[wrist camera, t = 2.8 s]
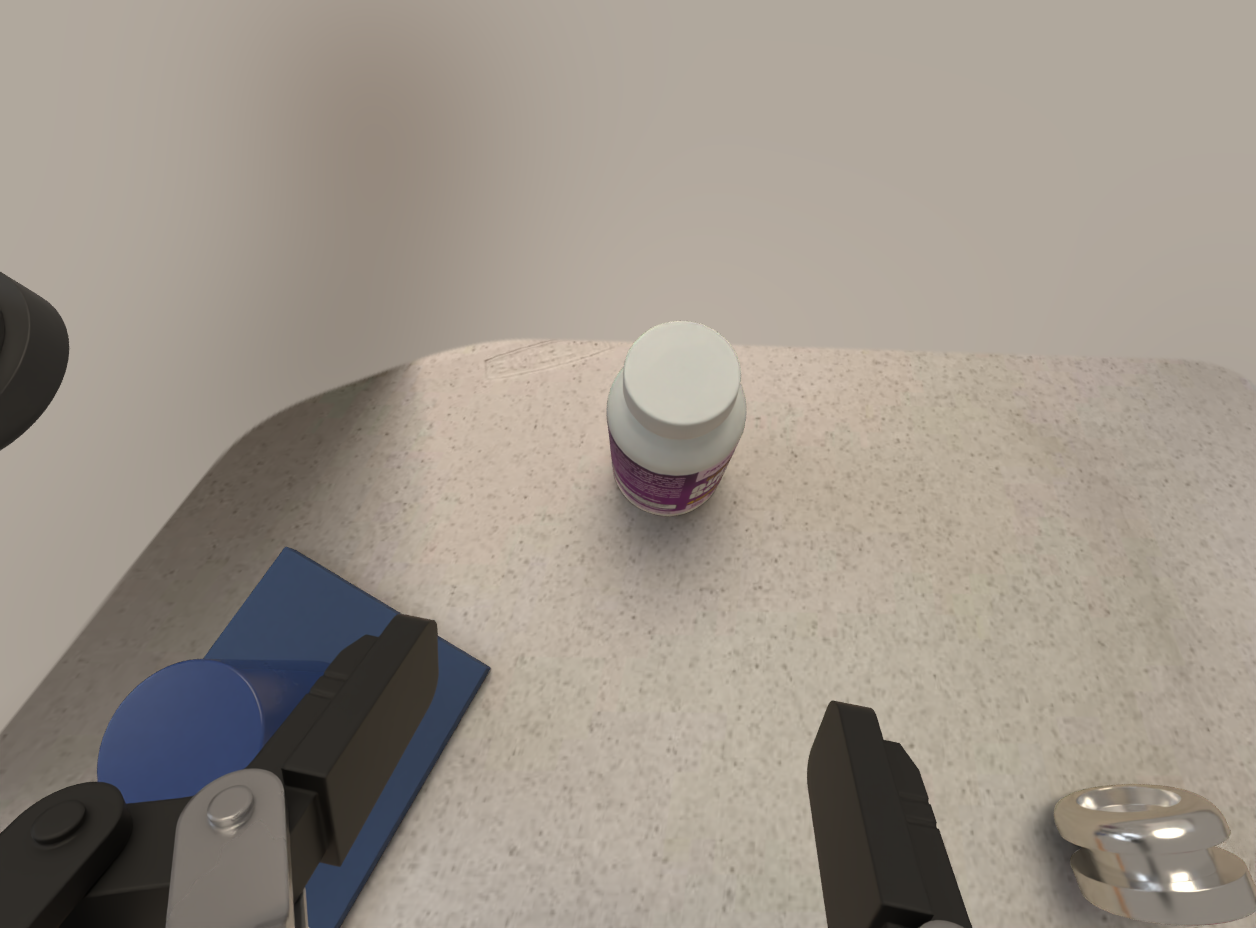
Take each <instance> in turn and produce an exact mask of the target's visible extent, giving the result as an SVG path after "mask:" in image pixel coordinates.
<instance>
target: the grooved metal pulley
mask: <svg viewBox="0 0 1256 928" xmlns="http://www.w3.org/2000/svg"><path fill="white" fill-rule="evenodd" d="M1054 820H1055V824H1056V826H1057V829H1058V832H1059V834H1060V835H1061V836H1062V837H1063V838H1064V839H1065V840H1067V841H1069V842H1071V843H1073V844H1075V845H1078V846H1081V847H1083V848H1081V849H1079V850H1077V851H1076V852H1075V853H1074V854H1073V855H1072V856H1071V858H1070V864H1071V867H1072V870H1073V872H1074V875H1075V878H1076V880H1077V883H1078V886H1079V888H1080V891H1081V893H1082V895H1083V896H1084V898H1085V899H1086V900H1087V901H1089V902H1090V903H1091V904H1093V905H1095V906H1096V907H1098V908H1100V909H1102V910H1105V911H1107V912H1109V913H1112V914H1115V915H1118V916H1122V917H1125V918H1129V919H1134V920H1138V921H1144V922H1150V923H1157V924H1167V925H1211V924H1220V923H1226V922H1231V921H1235V920H1239V919H1242V918H1244V917H1247V916H1249V915H1251V914H1253V913H1254V912H1256V885H1255V883H1254V881H1253V878H1252V876H1251V874H1250V872H1249V870H1248V867H1247V865H1246V863H1245V862H1244V861H1243V860H1242V859H1241V858H1240V857H1238V856H1237V855H1235V854H1233V853H1231V852H1229V851H1227V850H1224V849H1221V848H1218V847H1215V846H1216V845H1218V844H1220V843H1222V842H1224V841H1225V840H1227V839H1228V838H1229V836H1230V834H1231V830H1230V828H1229V826H1228V823H1227V821H1226V819H1225V817H1224V815H1223V814H1222V812H1221V811H1220V810H1219V809H1218V808H1217V807H1216V806H1215V805H1214V804H1213V803H1212V802H1210V801H1209V800H1207V799H1206V798H1204V797H1202V796H1200V795H1198V794H1196V793H1193V792H1190V791H1187V790H1184V789H1180V788H1175V787H1169V786H1161V785H1150V784H1118V785H1106V786H1098V787H1092V788H1087V789H1083V790H1079V791H1076V792H1073V793H1071V794H1069V795H1067V796H1065V797H1063V798H1062V799H1061V800H1060V801H1059V802H1058V803H1057V805H1056V807H1055V809H1054Z"/></svg>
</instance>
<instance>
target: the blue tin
mask: <svg viewBox="0 0 1256 928" xmlns="http://www.w3.org/2000/svg"><path fill="white" fill-rule="evenodd" d="M329 665H330V663H327V662H323V661H310V660H241V659H193V660H187V661H182V662H178V663H176V664H173V665H170V666H168V667H166V668H163V669H161V670H159V671H158V672H156V673H154V674H153V675H151V676H150V677H148V678H147V679H145V680H144V681H143V682H142V683H140V684H139V685H138V686H137V687H136V688H135V689H134V690H133V691H132V692H131V693H130V694H129V695H128V696H127V697H126V698H125V699H124V701H123V702H122V703H121V704H120V706H119V707H118V709H117V710H116V712H115V713H114V715H113V717H112V719H111V720H110V722H109V724H108V726H107V729H106V731H105V733H104V736H103V739H102V742H101V746H100V750H99V755H98V763H97V779H98V782H105V783H109V784H112V785H113V786H115V787H117V788H118V789H119V790H120V791H121V793H122V796H123V798H124V800H125V803H126V804H128V803H138V802H147V801H157V800H166V799H176V798H184V797H190V796H194V795H196V794H197V793H198V792H199V791H200V790H201V789H202V788H204V787H205V786H206V785H208V784H209V783H211V782H212V781H214V780H216V779H218V778H220V777H222V776H224V775H226V774H229V773H231V772H234V771H238V770H243V769H244V768H246V767H247V766H248V765H249V763H250V762H251V761H252V760H253V759H254V758H255V757H256V755H257V754H258V753H259V752H260V750H261V749H262V748H263V747H264V745H265V744H266V743H267V742H268V741H269V739H270V738H271V737H272V736H273V734H274V733H275V732H276V731H277V729H278V728H279V727H280V726H281V724H282V723H283V722H284V721H285V720H286V718H287V717H288V716H289V715H290V713H291V712H292V711H293V710H294V708H295V707H296V706H297V705H298V703H299V702H300V701H301V700H302V698H303V697H304V696H305V695H306V694H309V692H310V689H311V687H312V686H313V685H314V684H315V682H316V681H317V680H318V679H319V677H320V676H323V675H324V671H325V670H326V669H327V668H328V666H329Z"/></svg>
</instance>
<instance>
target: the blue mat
mask: <svg viewBox="0 0 1256 928" xmlns="http://www.w3.org/2000/svg"><path fill="white" fill-rule="evenodd" d="M397 614H401V613H399V612H398V611H396V610H394V609H393V608H391V607H389V606H388V605H386V604H384V603H383V602H381V601H379V600H378V599H376V598H374V597H373V596H371V595H369V594H368V593H366V592H364V591H363V590H361V589H359V588H358V587H356V586H354V585H353V584H351V583H349V582H348V581H346V580H344V579H343V578H341V577H339V576H338V575H336V574H335V573H333V572H331V571H330V570H328V569H326V568H325V567H323V566H321V565H320V564H318V563H316V562H315V561H313V560H311V559H310V558H308V557H306V556H305V555H303V554H301V553H300V552H298V551H296V550H294V549H291V548H288V547H285V548H284V549H283V550H282V552H281V553H280V555H279V556H278V557H277V559H276V560H275V561H274V563H273V564H272V565H271V567H270V568H269V570H268V571H267V572H266V574H265V575H264V576H263V578H262V579H261V581H260V582H259V583H258V585H257V586H256V587H255V589H254V590H253V591H252V593H251V594H250V596H249V597H248V598H247V600H246V601H245V602H244V604H243V605H242V606H241V608H240V609H239V611H238V612H237V613H236V615H235V616H234V617H233V619H232V620H231V621H230V623H229V624H228V626H227V627H226V628H225V630H224V631H223V632H222V634H221V635H220V636H219V638H218V639H217V641H216V642H215V643H214V645H213V646H212V647H211V649H210V650H209V651H208V653H207V654H206V656H205V657H204V658H203V659H241V660H310V661H323V662H327V663H330V664H331V663H332V661H333V660H334V659H335V658H336V656H337V655H338V654H339V653H340V651H341V650H343V649H344V648H346V647H347V646H349V645H350V644H352V643H353V642H355V641H356V640H358V639H359V638H361V637H362V636H364V635H365V634H367V635H372V636H377V637H379V636H380V635H381V633H382V632H383V631H384V629H385V628H386V627H387V625H388V624H389V623H390V621H391V620H392V619H393V618H394V617H395V616H396V615H397ZM437 636H438V635H437ZM438 667H439V676H438V683H437V688H436V691H435V694H434V697H433V700H432V702H431V704H430V706H429V708H428V710H427V712H426V714H425V715H424V717H423V719H422V721H421V723H420V724H419V726H418V728H417V730H416V732H415V733H414V735H413V737H412V739H411V741H410V742H409V744H408V746H407V748H406V750H405V751H404V753H403V755H402V757H401V759H400V760H399V762H398V764H397V766H396V768H395V769H394V771H393V773H392V775H391V777H390V778H389V780H388V782H387V784H386V786H385V787H384V789H383V791H382V793H381V795H380V796H379V798H378V800H377V802H376V804H375V805H374V807H373V809H372V811H371V813H370V814H369V816H368V818H367V820H366V822H365V823H364V825H363V827H362V829H361V831H360V832H359V834H358V836H357V838H356V840H355V842H354V843H353V845H352V847H351V849H350V851H349V852H348V854H347V856H346V858H345V860H344V861H343V863H342V865H341V867H338V866H334V865H329V864H325V863H321V862H319V864H318V866H317V867H316V869H315V871H314V873H313V874H312V876H311V878H310V879H309V881H308V883H307V884H306V886H305V889H306V901H307V915H308V927H310V928H340V926H341V924H342V923H343V921H344V919H345V917H346V916H347V914H348V912H349V911H350V909H351V907H352V905H353V904H354V902H355V900H356V899H357V897H358V895H359V893H360V892H361V890H362V888H363V887H364V885H365V883H366V881H367V880H368V878H369V876H370V875H371V873H372V871H373V869H374V868H375V866H376V864H377V863H378V861H379V859H380V857H381V856H382V854H383V852H384V850H385V849H386V847H387V845H388V844H389V842H390V840H391V838H392V837H393V835H394V833H395V832H396V830H397V828H398V826H399V825H400V823H401V821H402V820H403V818H404V816H405V814H406V813H407V811H408V809H409V808H410V806H411V804H412V802H413V801H414V799H415V797H416V796H417V794H418V792H419V790H420V789H421V787H422V785H423V784H424V782H425V780H426V778H427V777H428V775H429V773H430V772H431V770H432V768H433V766H434V765H435V763H436V761H437V760H438V758H439V756H440V754H441V753H442V751H443V749H444V748H445V746H446V744H447V742H448V741H449V739H450V737H451V736H452V734H453V732H454V730H455V729H456V727H457V725H458V724H459V722H460V720H461V718H462V717H463V715H464V713H465V712H466V710H467V708H468V706H469V705H470V703H471V701H472V700H473V698H474V696H475V694H476V693H477V691H478V689H479V688H480V686H481V684H482V682H483V681H484V679H485V677H486V676H487V674H488V672H489V670H490V667H489V666H487V665H486V664H484V663H482V662H481V661H479V660H477V659H476V658H474V657H472V656H471V655H469V654H467V653H466V652H464V651H462V650H461V649H459V648H457V647H456V646H454V645H452V644H451V643H449V642H448V641H446V640H444V639H443V638H441V637H439V636H438Z"/></svg>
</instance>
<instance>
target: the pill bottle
mask: <svg viewBox="0 0 1256 928" xmlns="http://www.w3.org/2000/svg"><path fill="white" fill-rule="evenodd" d="M740 382H741V368H740V363H739V360H738V357H737V355H736V353H735V351H734V349H733V348H732V346H731V345H730V343H729V342H728V341H727V340H726V339H725V338H724V337H723V336H722V335H720V334H719V333H718V332H716V331H715V330H713V329H712V328H709V327H707V326H704V325H702V324H700V323H695V322H689V321H673V322H667V323H663V324H660V325H657V326H655V327H653V328H651V329H649V330H648V331H646V332H645V333H643V334H642V335H641V336H640V337H639V338H638V339H637V340H636V341H635V342H634V343H633V345H632V346H631V348H630V349H629V351H628V353H627V356H626V359H625V363H624V366H623V368H622V369H621V370H620V371H619V373H618V374H617V376H616V377H615V379H614V381H613V383H612V386H611V388H610V392H609V396H608V401H607V423H608V431H609V440H610V449H611V459H612V467H613V473H614V477H615V480H616V483H617V485H618V487H619V489H620V490H621V492H622V493H623V494H624V496H625V497H626V498H627V499H628V500H629V501H630V502H631V503H632V504H633V505H635V506H636V507H638V508H640V509H642V510H644V511H646V512H648V513H652V514H655V515H661V516H675V515H681V514H685V513H687V512H690V511H692V510H694V509H696V508H697V507H699V506H700V505H702V504H703V503H704V502H705V501H707V499H708V498H709V497H710V496H711V495H712V494H713V492H714V491H715V489H716V488H717V486H718V484H719V482H720V480H721V478H722V476H723V474H724V472H725V470H726V468H727V465H728V463H729V461H730V459H731V457H732V455H733V453H734V451H735V448H736V446H737V444H738V442H739V440H740V438H741V435H742V433H743V430H744V426H745V421H746V399H745V394H744V391H743V388H742V385H741V383H740Z"/></svg>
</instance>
